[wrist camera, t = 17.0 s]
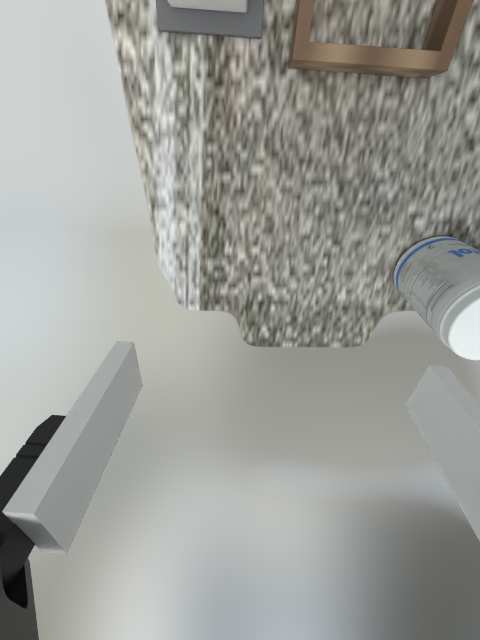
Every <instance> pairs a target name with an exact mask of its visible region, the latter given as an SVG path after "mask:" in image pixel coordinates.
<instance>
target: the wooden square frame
mask: <svg viewBox="0 0 480 640" xmlns="http://www.w3.org/2000/svg"><path fill="white" fill-rule="evenodd" d="M314 1H315V0H296V7H295V16H294V24H293V32H292V41H291V49H290V57H289V66H288V68H291V69H305V70H318V71H332V72H345V73H359V74H372V75H386V76H400V77H413V78H427V77H430V76H433V75H436V74H439V73H442V72H445V71H448V68H449V65H450V62H451V60H452V57H453V54H454V51H455V49H456V46H457V43H458V40H459V38H460V35H461V32H462V29H463V27H464V24H465V21H466V19H467V16H468V13H469V10H470V8H471V5H472V2H473V0H437V3H436V6H435V9H434V12H433V15H432V19H431V22H430V25H429V28H428V31H427V35H426V38H425V41H424V44H423V47H422V50H415V49H401V48H388V47H374V46H361V45H347V44H333V43H320V42H309V35H310V29H311V22H312V15H313V8H314Z"/></svg>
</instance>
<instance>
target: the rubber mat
mask: <svg viewBox="0 0 480 640" xmlns="http://www.w3.org/2000/svg"><path fill="white" fill-rule="evenodd" d="M263 6H264V0H248V4H247V12H246V13H241V12H228V11H216V10H203V9H190V8H177V7H171V5H170V4H169V2H168V1H167V0H156V9H157V22H158V30H159V31H162V32H176V33H189V34H203V35H216V36H230V37H244V38H257V39H261V33H262V19H263Z"/></svg>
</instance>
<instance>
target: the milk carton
mask: <svg viewBox="0 0 480 640" xmlns="http://www.w3.org/2000/svg"><path fill="white" fill-rule="evenodd" d="M167 1H168V2H169V4H170V5H171V7H177V8H190V9H203V10H216V11H228V12H241V13H246V12H247V4H248V0H167Z"/></svg>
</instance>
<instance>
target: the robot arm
mask: <svg viewBox="0 0 480 640" xmlns="http://www.w3.org/2000/svg"><path fill="white" fill-rule="evenodd" d="M142 386H143V385H142V380H141V375H140V370H139V366H138V360H137V355H136V350H135V346H134V343H132V342H120V341H117V342H116V343H115V345H114V346H113V348H112V349H111V351H110V352H109V354H108V355H107V357H106V358H105V360H104V361H103V363H102V364H101V365H100V367H99V369H98V370H97V371H96V373H95V375H94V376H93V377H92V379H91V380H90V382H89V383H88V385H87V386H86V388H85V389H84V391H83V392H82V394H81V395H80V397H79V398H78V400H77V401H76V403H75V404H74V406H73V407H72V409H71V410H70V412H69V413H68V415H67V416H59V415H51V416H50V417H49V418H48V419H47V420H45V421H44V422H43V423H42V424H40V425H39V426H38V427H37V428H36V429H35V430H34V432H33V433H32V434H31V436H30V437H29V438H28V440H27V441H26V444H25V445H23V446H22V448H21V449H20V450H19V452H18V453H17V454H16V458H14V459H13V460H12V461H11V463H10V464H9V465H8V467H7V468H6V469H5V471H4V472H3V473H2V475H1V476H0V640H39V639H38V630H37V621H36V612H35V604H34V595H33V587H32V578H31V570H30V562H29V559H28V556H29V554H30V553H31V550H32V549H33V547H34V545H36V546H37V547H38V548H39V549H40V550H41V551H42V552H54V553H67V552H68V550H69V548H70V546H71V543H72V541H73V539H74V537H75V534H76V532H77V530H78V528H79V526H80V523H81V521H82V519H83V517H84V514H85V512H86V510H87V508H88V506H89V503H90V501H91V499H92V497H93V495H94V492H95V490H96V488H97V486H98V483H99V481H100V479H101V477H102V474H103V472H104V470H105V468H106V466H107V463H108V461H109V459H110V456H111V455H112V452H113V450H114V448H115V446H116V443H117V441H118V439H119V437H120V435H121V432H122V430H123V428H124V426H125V423H126V421H127V419H128V417H129V415H130V412H131V410H132V408H133V406H134V403H135V401H136V399H137V397H138V394H139V392H140V390H141V388H142ZM405 407H406V409H407V411H408V413H409V414H410V416H411V418H412V420H413V422H414V424H415V425H416V427H417V429H418V431H419V432H420V434H421V436H422V438H423V440H424V442H425V443H426V445H427V447H428V449H429V451H430V453H431V454H432V456H433V458H434V459H435V462H436V463H437V465H438V467H439V469H440V470H441V472H442V474H443V476H444V478H445V480H446V481H447V483H448V485H449V487H450V489H451V490H452V492H453V494H454V496H455V497H456V499H457V501H458V503H459V505H460V507H461V508H462V510H463V512H464V514H465V516H466V517H467V519H468V521H469V523H470V525H471V526H472V528H473V530H474V532H475V534H476V535H477V537H478V539H479V541H480V406H479V405H478V404H477V402H476V401H475V400H474V399H473V398H472V396H471V395H470V394H469V393H468V392H467V390H466V389H465V388H464V387H463V385H462V384H461V383H460V382H459V381H458V379H457V378H456V377H455V376H454V375H453V373H452V372H451V371H450V370H449V369H448V367H444V366H432V365H429V367H428V369H427V370H426V372H425V373H424V375H423V377H422V378H421V380H420V382H419V383H418V385H417V386H416V388H415V390H414V392H413V393H412V395H411V396H410V398H409V399H408V401H407V403H406V404H405Z"/></svg>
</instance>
